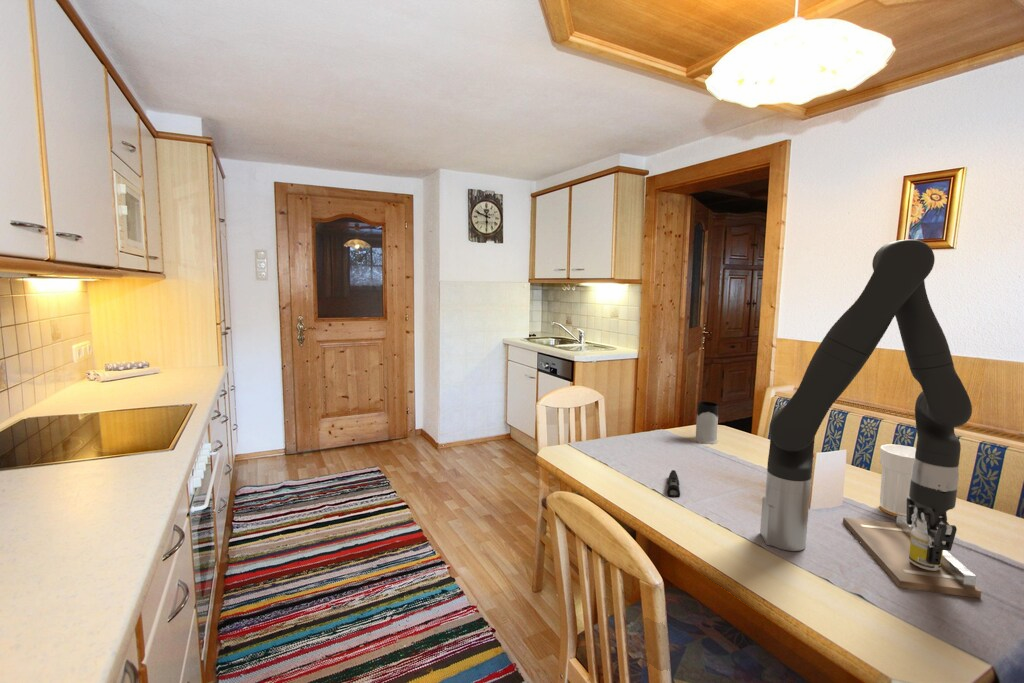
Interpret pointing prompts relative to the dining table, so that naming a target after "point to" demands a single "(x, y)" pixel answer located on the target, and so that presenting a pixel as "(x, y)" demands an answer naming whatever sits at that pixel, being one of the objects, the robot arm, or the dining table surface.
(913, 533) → the supplement bottle
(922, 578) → the brown flat wooden board
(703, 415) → the glass holder
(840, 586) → the dining table surface
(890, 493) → the cup
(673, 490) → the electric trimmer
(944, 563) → the metal straightedge
